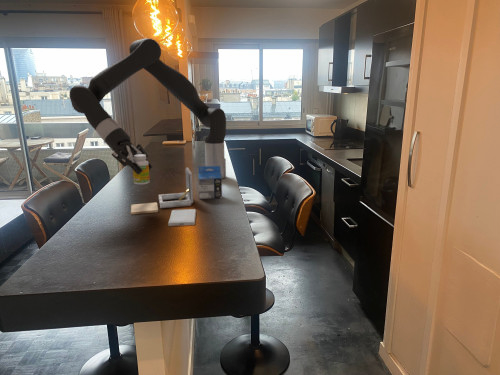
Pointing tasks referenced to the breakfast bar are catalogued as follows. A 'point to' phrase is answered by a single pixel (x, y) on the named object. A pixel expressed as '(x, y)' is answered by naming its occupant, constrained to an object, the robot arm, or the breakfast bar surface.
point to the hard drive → (182, 217)
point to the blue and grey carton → (210, 182)
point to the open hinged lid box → (179, 195)
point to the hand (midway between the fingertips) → (145, 170)
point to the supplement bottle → (144, 165)
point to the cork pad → (144, 208)
